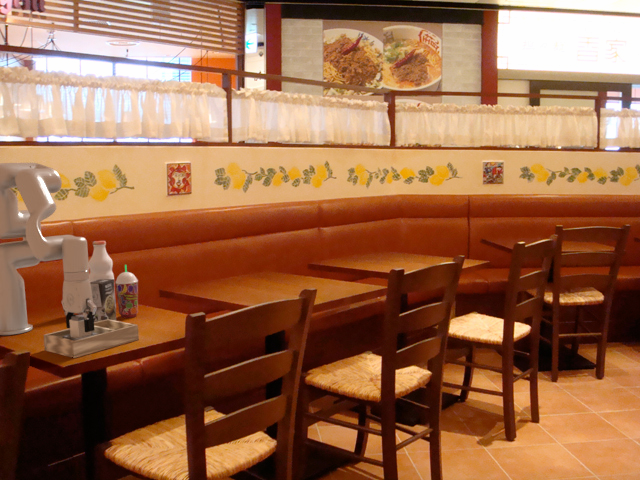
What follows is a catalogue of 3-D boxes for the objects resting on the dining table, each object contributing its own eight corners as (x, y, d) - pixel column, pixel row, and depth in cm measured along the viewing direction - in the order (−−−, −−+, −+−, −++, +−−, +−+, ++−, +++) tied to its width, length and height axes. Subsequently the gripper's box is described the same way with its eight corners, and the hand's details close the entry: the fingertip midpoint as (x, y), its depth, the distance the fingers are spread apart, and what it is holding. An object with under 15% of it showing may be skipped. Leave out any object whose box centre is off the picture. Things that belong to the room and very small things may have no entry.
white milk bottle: (96, 308, 270) (92, 240, 266) (119, 308, 269) (115, 239, 266) (87, 313, 260) (82, 243, 257) (111, 313, 260) (106, 242, 257)
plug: (71, 344, 211) (69, 316, 210) (83, 341, 215) (81, 313, 214) (79, 346, 209) (77, 318, 207) (91, 343, 212) (90, 315, 211)
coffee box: (104, 327, 237) (101, 283, 235) (88, 327, 239) (85, 283, 237) (117, 321, 246) (114, 278, 244) (101, 321, 248) (98, 278, 246)
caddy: (44, 350, 210) (43, 334, 209) (108, 333, 229) (107, 319, 229) (74, 358, 201) (73, 341, 200) (138, 339, 220) (137, 324, 219)
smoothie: (128, 319, 248) (124, 267, 246) (112, 317, 253) (109, 265, 250) (144, 315, 255) (141, 263, 253) (129, 313, 260) (126, 262, 257)
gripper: (50, 275, 211) (54, 328, 213) (82, 280, 201) (86, 335, 203) (71, 272, 217) (74, 323, 219) (103, 276, 207) (107, 330, 209)
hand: (80, 329), depth 211 cm, fingers open, 9 cm apart
